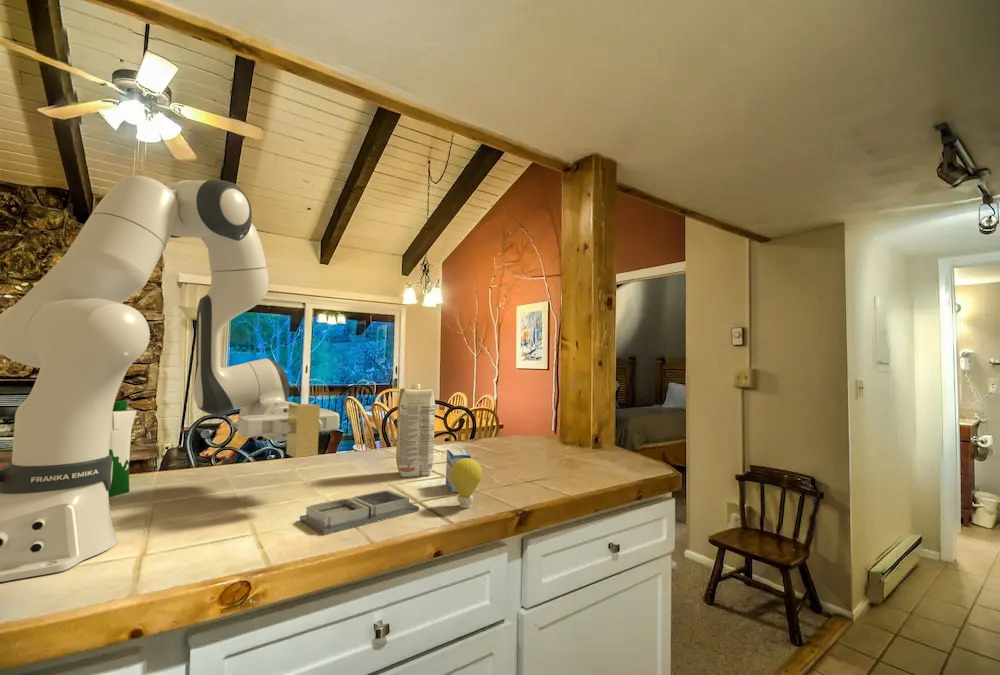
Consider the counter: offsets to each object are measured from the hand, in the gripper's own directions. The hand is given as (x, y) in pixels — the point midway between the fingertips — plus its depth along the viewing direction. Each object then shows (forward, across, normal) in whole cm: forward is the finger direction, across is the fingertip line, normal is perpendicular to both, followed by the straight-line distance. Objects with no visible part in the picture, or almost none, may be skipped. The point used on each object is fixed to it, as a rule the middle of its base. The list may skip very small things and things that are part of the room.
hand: (305, 427), depth 96 cm
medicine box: (+8, +34, +16) cm, 39 cm away
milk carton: (-38, -28, +17) cm, 50 cm away
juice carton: (-10, +34, +16) cm, 39 cm away
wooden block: (-1, 0, +6) cm, 6 cm away
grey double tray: (+11, +7, +16) cm, 21 cm away
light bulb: (+20, +26, +16) cm, 37 cm away
